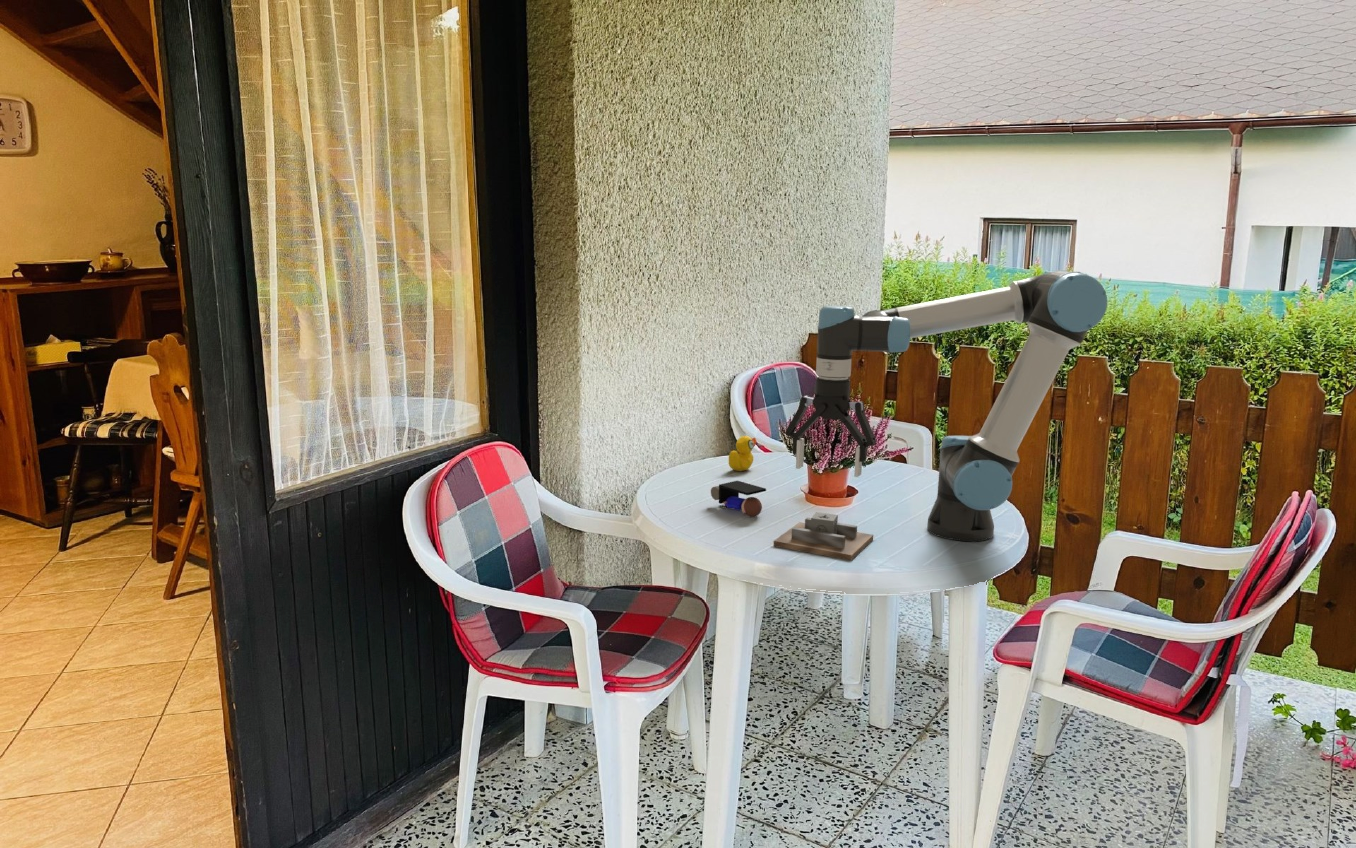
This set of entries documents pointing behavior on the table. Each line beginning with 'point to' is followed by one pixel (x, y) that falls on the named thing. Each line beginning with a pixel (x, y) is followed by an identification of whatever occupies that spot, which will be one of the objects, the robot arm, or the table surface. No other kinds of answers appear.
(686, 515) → the table surface
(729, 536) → the table surface
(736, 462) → the duckling
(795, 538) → the cradle
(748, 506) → the figurine character
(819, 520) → the dice cube
